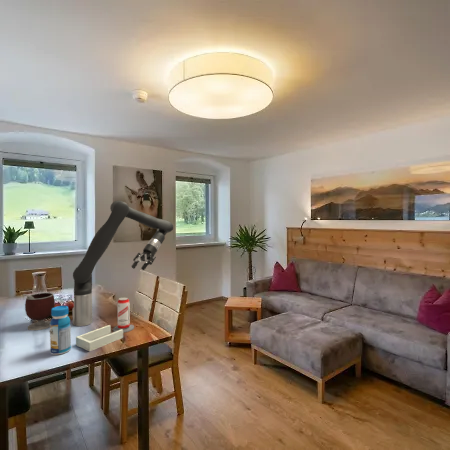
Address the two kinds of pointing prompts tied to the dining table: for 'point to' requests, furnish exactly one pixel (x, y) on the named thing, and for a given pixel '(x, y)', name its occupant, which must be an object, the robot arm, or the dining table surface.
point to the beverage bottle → (60, 331)
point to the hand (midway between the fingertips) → (137, 268)
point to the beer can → (123, 313)
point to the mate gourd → (39, 309)
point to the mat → (124, 329)
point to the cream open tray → (89, 345)
